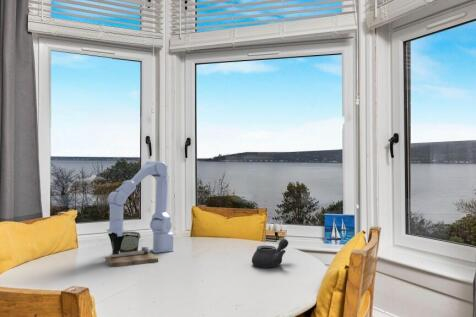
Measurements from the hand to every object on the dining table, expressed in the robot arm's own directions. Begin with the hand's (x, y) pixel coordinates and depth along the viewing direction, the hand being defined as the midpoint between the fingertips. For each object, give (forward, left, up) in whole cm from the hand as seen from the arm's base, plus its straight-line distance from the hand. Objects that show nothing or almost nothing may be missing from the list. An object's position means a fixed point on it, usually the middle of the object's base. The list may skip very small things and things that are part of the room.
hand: (116, 250), depth 169 cm
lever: (-6, 0, -3) cm, 7 cm away
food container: (-8, -10, -5) cm, 14 cm away
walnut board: (-6, +4, -4) cm, 9 cm away
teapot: (-59, +36, -5) cm, 69 cm away
